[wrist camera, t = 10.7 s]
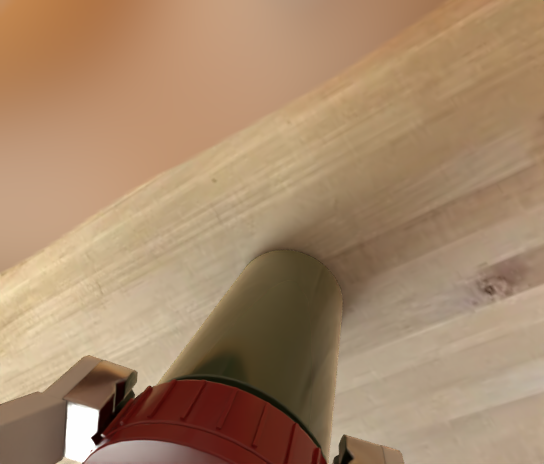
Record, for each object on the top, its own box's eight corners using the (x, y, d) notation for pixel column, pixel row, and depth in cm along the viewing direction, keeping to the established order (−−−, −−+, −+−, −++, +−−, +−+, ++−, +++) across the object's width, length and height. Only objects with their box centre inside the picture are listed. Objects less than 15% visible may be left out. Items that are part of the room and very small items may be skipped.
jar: (319, 235, 16) (262, 404, 7) (358, 333, 17) (356, 595, 8) (221, 266, 18) (66, 434, 9) (262, 353, 19) (166, 585, 10)
